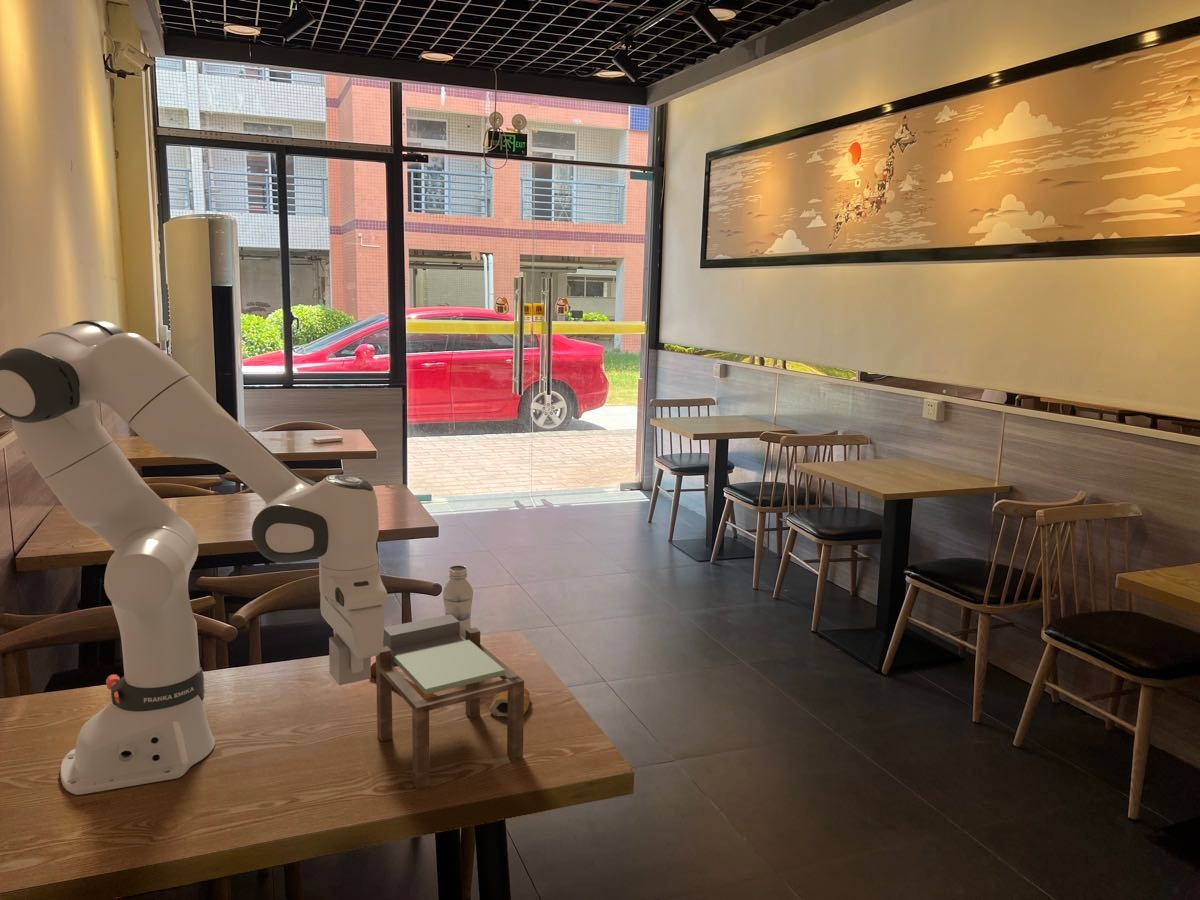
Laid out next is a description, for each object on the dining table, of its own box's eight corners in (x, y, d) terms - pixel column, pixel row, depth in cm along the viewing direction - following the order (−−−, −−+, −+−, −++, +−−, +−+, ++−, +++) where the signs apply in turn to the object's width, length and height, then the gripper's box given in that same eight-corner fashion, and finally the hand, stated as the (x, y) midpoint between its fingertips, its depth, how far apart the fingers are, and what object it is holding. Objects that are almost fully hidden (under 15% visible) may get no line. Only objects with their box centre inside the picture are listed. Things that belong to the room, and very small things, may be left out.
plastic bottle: (472, 650, 188) (472, 562, 184) (474, 663, 182) (474, 572, 178) (442, 651, 187) (441, 563, 183) (443, 665, 180) (442, 574, 176)
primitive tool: (446, 702, 165) (445, 685, 165) (424, 713, 161) (423, 696, 160) (381, 673, 177) (381, 657, 176) (359, 682, 173) (359, 666, 172)
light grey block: (339, 685, 134) (338, 649, 132) (329, 672, 138) (329, 637, 136) (370, 678, 136) (370, 642, 135) (360, 666, 140) (360, 631, 139)
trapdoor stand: (417, 789, 136) (416, 692, 133) (377, 736, 152) (375, 648, 149) (522, 757, 147) (524, 666, 143) (475, 710, 162) (475, 627, 159)
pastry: (504, 693, 169) (505, 675, 169) (537, 698, 168) (538, 680, 167) (487, 716, 160) (487, 697, 160) (522, 722, 159) (522, 702, 158)
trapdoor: (425, 709, 137) (425, 674, 136) (380, 659, 155) (380, 628, 153) (504, 689, 145) (504, 655, 144) (453, 643, 162) (453, 613, 161)
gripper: (309, 562, 141) (311, 642, 143) (349, 603, 124) (349, 693, 127) (348, 557, 144) (348, 635, 147) (391, 596, 127) (391, 684, 130)
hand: (349, 662), depth 137 cm, fingers closed on light grey block, 5 cm apart
